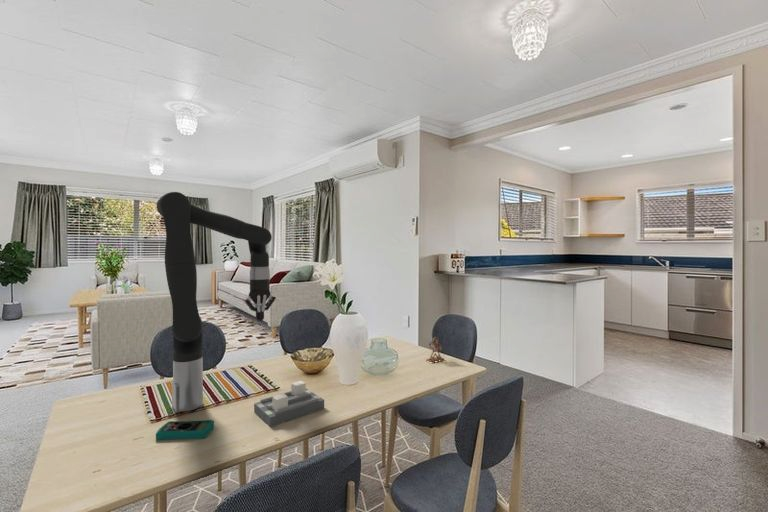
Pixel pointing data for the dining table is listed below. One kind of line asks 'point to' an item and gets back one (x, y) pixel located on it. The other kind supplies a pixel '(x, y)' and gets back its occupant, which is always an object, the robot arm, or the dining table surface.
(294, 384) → the tab back
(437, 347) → the brown irregular upright piece
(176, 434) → the digital multimeter
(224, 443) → the dining table surface
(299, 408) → the switch panel
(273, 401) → the tab front
